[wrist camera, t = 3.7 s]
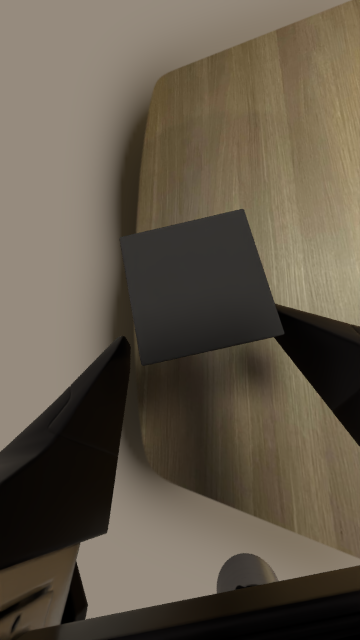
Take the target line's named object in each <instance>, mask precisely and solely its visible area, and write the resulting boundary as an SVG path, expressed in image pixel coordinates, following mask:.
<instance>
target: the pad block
mask: <svg viewBox="0 0 360 640" xmlns="http://www.w3.org/2000/svg"><path fill="white" fill-rule="evenodd" d="M120 244H121V250H122V255H123V262H124V267H125V273H126V279H127V284H128V291H129V296H130V302H131V308H132V314H133V319H134V325H135V331H136V337H137V343H138V348H139V354H140V360H141V364H142V365H143V366H145V365H149V364H154V363H159V362H163V361H168V360H172V359H177V358H181V357H186V356H190V355H195V354H199V353H204V352H208V351H213V350H217V349H222V348H227V347H231V346H236V345H240V344H245V343H249V342H254V341H258V340H263V339H267V338H272V337H276V336H281V335H283V334H284V330H283V327H282V324H281V321H280V318H279V315H278V312H277V309H276V306H275V303H274V300H273V297H272V294H271V291H270V288H269V285H268V282H267V279H266V275H265V272H264V269H263V266H262V263H261V260H260V257H259V254H258V251H257V248H256V245H255V242H254V239H253V236H252V233H251V230H250V227H249V224H248V221H247V218H246V215H245V212H244V209H240V210H235V211H231V212H227V213H223V214H218V215H214V216H210V217H205V218H201V219H197V220H193V221H188V222H184V223H180V224H175V225H171V226H167V227H162V228H158V229H154V230H150V231H145V232H141V233H137V234H132V235H128V236H124V237H120Z"/></svg>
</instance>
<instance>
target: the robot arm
mask: <svg viewBox="0 0 360 640" xmlns="http://www.w3.org/2000/svg"><path fill="white" fill-rule="evenodd" d="M275 306H276V309H277V312H278V315H279V318H280V321H281V324H282V327H283V330H284V334H283V335H281V336H276V337H274V338H275V339H276V341H277V342H278V343H279V344H280V346H281V347H282V348H283V350H284V351H285V352H286V353H287V355H288V356H289V357H290V358H291V360H292V361H293V362H294V364H295V365H296V366H297V367H298V369H299V370H300V371H301V372H302V374H303V375H304V376H305V378H306V379H307V380H308V381H309V383H310V384H311V385H312V386H313V388H314V389H315V390H316V391H317V393H318V394H319V395H320V397H321V398H322V399H323V400H324V402H325V403H326V404H327V405H328V407H329V408H330V409H331V410H332V412H333V413H334V415H335V416H336V417H337V418H338V420H339V421H340V422H341V423H342V425H343V426H344V427H345V429H346V430H347V431H348V432H349V434H350V435H351V436H352V437H353V439H354V440H355V441H356V443H357V444H358V445H359V446H360V327H359V326H356V325H352V324H351V325H350V324H348V323H344V322H341V321H337V320H333V319H330V318H326V317H322V316H319V315H315V314H311V313H307V312H304V311H300V310H296V309H293V308H289V307H285V306H282V305H278V304H275ZM130 350H131V347H130V344H129V342H128V341H127V339H126V337H124V336H121V337H118V338H117V339H116V340H114V341H113V343H112V344H111V345H110V346H109V347H108V348H107V349H106V350H105V351H104V352H103V353H102V354H101V355H100V356H99V357H98V358H97V359H96V360H95V361H94V362H93V363H92V364H91V365H90V366H89V367H88V368H87V369H86V370H85V371H84V372H83V373H82V374H81V375H80V376H79V377H78V379H76V380H75V381H74V382H73V384H71V387H68V388H67V389H66V391H65V392H64V393H63V394H62V395H61V396H60V397H59V398H58V399H57V400H56V401H55V402H54V403H53V404H52V405H50V406H49V407H48V408H47V409H46V410H45V411H44V412H43V413H42V414H41V415H40V416H39V417H38V418H37V419H36V420H34V421H33V422H32V423H31V424H30V425H29V426H28V427H27V428H26V429H25V430H24V431H23V432H21V433H20V434H19V435H18V436H17V437H16V438H15V439H14V440H13V441H12V442H11V443H10V444H9V445H7V446H6V447H5V448H4V449H3V450H2V451H1V452H0V640H360V566H355V567H349V568H344V569H339V570H334V571H329V572H324V573H319V574H314V575H309V576H304V577H299V578H294V579H289V580H283V581H278V582H273V583H268V584H263V585H258V586H253V587H248V588H245V587H243V586H241V585H238V586H237V587H236V588H235V590H233V591H228V592H223V593H218V594H213V595H208V596H203V597H198V598H192V599H187V600H182V601H177V602H172V603H167V604H162V605H157V606H152V607H147V608H142V609H137V610H132V611H127V612H122V613H116V614H111V615H107V616H101V617H96V618H91V619H86V620H85V617H86V612H87V607H88V604H87V600H86V596H85V593H84V589H83V585H82V581H81V577H80V573H79V570H78V566H77V562H76V559H77V554H78V551H79V546H80V542H83V541H86V540H88V539H91V538H94V537H97V536H100V535H103V534H106V533H107V530H108V524H109V518H110V511H111V503H112V497H113V489H114V482H115V475H116V468H117V460H118V453H119V446H120V438H121V431H122V423H123V417H124V410H125V403H126V395H127V388H128V381H129V373H130V354H131V351H130Z"/></svg>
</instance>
